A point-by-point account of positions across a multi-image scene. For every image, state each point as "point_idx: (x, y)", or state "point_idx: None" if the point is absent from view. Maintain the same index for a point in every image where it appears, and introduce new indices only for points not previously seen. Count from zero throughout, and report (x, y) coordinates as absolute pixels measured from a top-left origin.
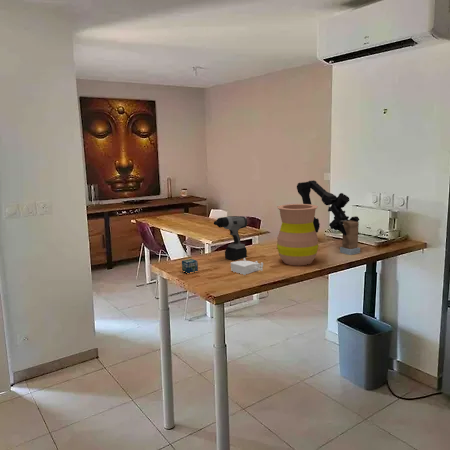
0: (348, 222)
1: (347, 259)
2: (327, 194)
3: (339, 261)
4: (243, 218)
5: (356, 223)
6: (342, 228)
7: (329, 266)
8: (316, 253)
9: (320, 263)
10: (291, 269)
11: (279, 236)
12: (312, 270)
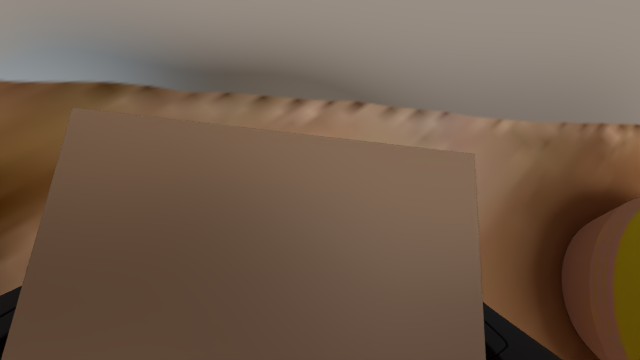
0: (443, 317)
1: None
2: None
3: (466, 151)
4: None
5: (218, 135)
6: (483, 311)
7: (552, 128)
8: (631, 211)
9: (556, 188)
10: None
11: None
12: (636, 137)
